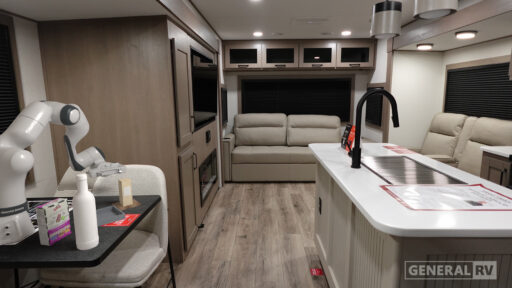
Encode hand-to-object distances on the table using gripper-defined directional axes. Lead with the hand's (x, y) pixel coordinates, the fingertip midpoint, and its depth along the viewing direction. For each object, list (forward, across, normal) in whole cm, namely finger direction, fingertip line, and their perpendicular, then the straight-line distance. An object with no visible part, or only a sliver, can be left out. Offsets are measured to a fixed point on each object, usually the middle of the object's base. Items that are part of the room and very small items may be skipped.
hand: (112, 173), depth 165 cm
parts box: (+13, +2, +15) cm, 20 cm away
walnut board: (+13, +2, +16) cm, 21 cm away
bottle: (+45, -26, +17) cm, 55 cm away
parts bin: (+23, -13, +17) cm, 31 cm away
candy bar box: (+30, -34, +17) cm, 49 cm away
